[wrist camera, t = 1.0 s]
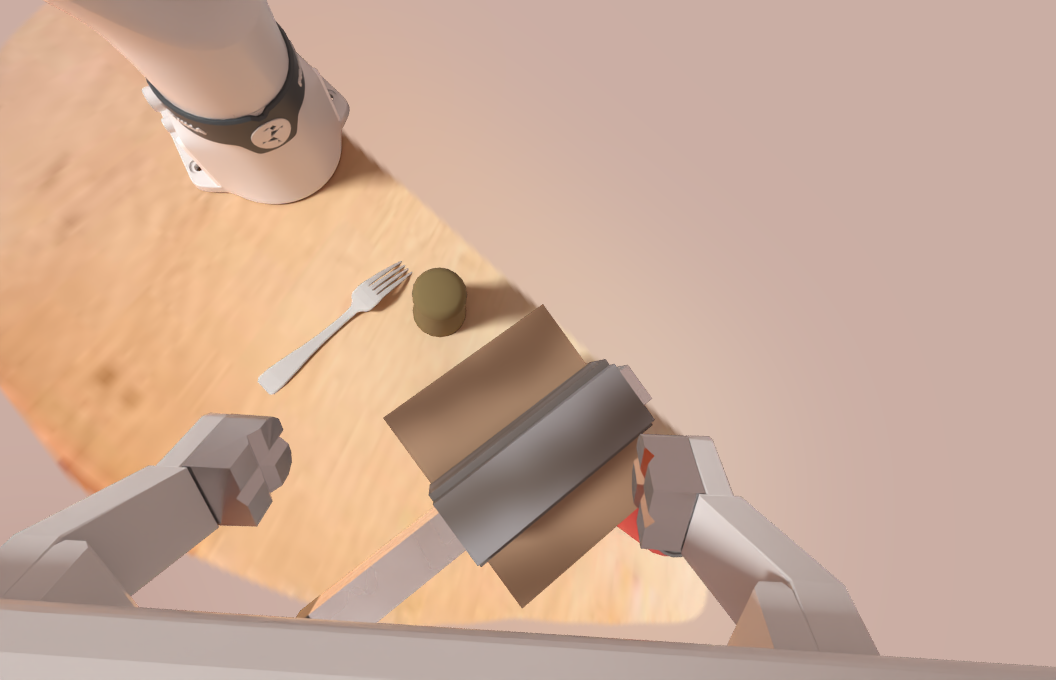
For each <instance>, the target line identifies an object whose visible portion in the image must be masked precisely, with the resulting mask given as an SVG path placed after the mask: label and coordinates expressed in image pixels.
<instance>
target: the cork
mask: <svg viewBox="0 0 1056 680" xmlns="http://www.w3.org/2000/svg"><path fill="white" fill-rule="evenodd" d="M412 297H413V303H414V307H413V315H414V320H415V322H416V324H417V326H418V327H419V328H420V329H421V330H422V331H423V332H425V333H427V334H429V335H431V336H436V337H444V336H449V335H451V334H453V333H455V332H456V331H457V330H458V329H459V328H460V327H461V326H462V324H463V322H464V320H465V315H466V308H465V304H466V298H467V291H466V286H465V284H464V282H463V280H462V279H461V278H460V277H459V276H458V275H457V274H456V273H454V272H453V271H451V270H449V269H445V268H433V269H430V270H428V271H425V272H424V273H422V274H421V275H420V276H419V277H418V278H417V280H416V282H415V283H414V285H413V291H412Z"/></svg>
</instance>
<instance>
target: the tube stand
mask: <svg viewBox="0 0 1056 680" xmlns="http://www.w3.org/2000/svg"><path fill="white" fill-rule="evenodd" d="M384 420H385V421H386V422H387V424H388V425H389V426H390V428H391V429H392V431H393V432H394V433H395V435H396V436H397V437H398V439H399V440H400V442H401V443H402V444H403V446H404V447H405V448H406V450H407V451H408V453H409V454H410V455H411V457H412V458H413V459H414V461H415V462H416V464H417V465H418V466H419V468H420V469H421V470H422V472H423V473H424V475H425V476H426V477H427V479H428V480H429V481H430V483H431V484H430V487H429V496H430V498H431V499H432V500H433V505H434V507H435V508H436V510H437V511H438V512H439V514H440V515H441V516H442V518H443V519H444V521H445V522H446V523H447V525H448V526H449V527H450V529H451V530H452V532H453V533H454V534H455V536H456V537H457V538H458V540H459V541H460V542H461V544H462V545H463V547H464V548H465V549H466V551H467V552H468V553H469V555H470V556H471V558H472V559H473V560H474V562H475V563H476V564H477V566H479V565H480V566H481V567H482V566H483V565H484V564H486V563H487V562H489V564H490V565H491V566H492V568H493V569H494V571H495V572H496V573H497V575H498V576H499V577H500V579H501V580H502V582H503V583H504V584H505V586H506V587H507V588H508V590H509V591H510V593H511V594H512V595H513V597H514V598H515V599H516V601H517V602H518V604H519V605H520V606H521V608H523V607H525V606H526V605H527V604H528V603H529V602H530V601H531V600H533V599H534V598H535V597H536V596H537V595H538V594H539V593H541V592H542V591H543V590H544V589H545V588H546V587H547V586H549V585H550V584H551V583H552V582H553V581H554V580H555V579H557V578H558V577H559V576H560V575H561V574H562V573H564V572H565V571H566V570H567V569H568V568H569V567H570V566H572V565H573V564H574V563H575V562H576V561H577V560H578V559H580V558H581V557H582V556H583V555H584V554H585V553H586V552H588V551H589V550H590V549H591V548H592V547H593V546H595V545H596V544H597V543H598V542H599V541H600V540H601V539H603V538H604V537H605V536H606V535H607V534H608V533H609V532H611V531H612V530H613V529H614V528H615V527H616V526H617V525H619V524H620V523H621V522H622V521H623V520H624V519H625V518H627V517H628V516H629V515H630V514H631V513H632V512H634V511H635V510H636V509H637V507H636V506H635V505H634V503H633V495H632V469H633V463H634V461H635V460H636V459H637V458H638V454H637V448H636V446H637V441H638V437H639V435H640V434H642V433H643V432H645V431H646V430H647V429H648V428H649V427H651V426H652V423H651V422H653V421H654V418H653V417H652V415H651V414H650V413H649V411H648V410H647V408H646V407H645V406H644V404H643V403H642V401H641V400H640V399H639V397H638V396H637V394H636V393H635V392H634V390H633V389H632V388H631V386H630V385H629V383H628V382H627V381H626V379H625V378H624V376H623V375H622V374H621V372H620V371H619V369H618V368H617V367H616V365H615V364H612V365H609V363H608V362H607V361H606V360H605V359H604V360H599V361H595V362H590V363H588V364H587V365H586V363H585V362H584V361H583V359H582V358H581V356H580V355H579V354H578V352H577V351H576V349H575V348H574V347H573V345H572V344H571V343H570V341H569V340H568V338H567V337H566V336H565V334H564V333H563V331H562V330H561V329H560V327H559V326H558V324H557V323H556V322H555V320H554V319H553V318H552V316H551V315H550V314H549V312H548V311H547V309H546V308H545V306H544V305H543V304H542V305H541V306H540V307H538V308H537V309H535V310H534V311H533V312H531V313H530V314H528V315H527V316H526V317H524V318H523V319H521V320H520V321H519V322H517V323H516V324H514V325H513V326H512V327H510V328H509V329H507V330H506V331H504V332H503V333H502V334H500V335H499V336H497V337H496V338H495V339H493V340H492V341H490V342H489V343H488V344H486V345H485V346H483V347H482V348H481V349H479V350H478V351H476V352H475V353H474V354H472V355H471V356H469V357H468V358H467V359H465V360H464V361H462V362H461V363H460V364H458V365H457V366H455V367H454V368H453V369H451V370H450V371H448V372H447V373H445V374H444V375H443V376H441V377H440V378H438V379H437V380H436V381H434V382H433V383H431V384H430V385H429V386H427V387H426V388H424V389H423V390H422V391H420V392H419V393H417V394H416V395H415V396H413V397H412V398H410V399H409V400H408V401H406V402H405V403H403V404H402V405H401V406H399V407H398V408H396V409H395V410H394V411H392V412H391V413H389V414H388V415H387V416H385V417H384Z"/></svg>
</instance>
